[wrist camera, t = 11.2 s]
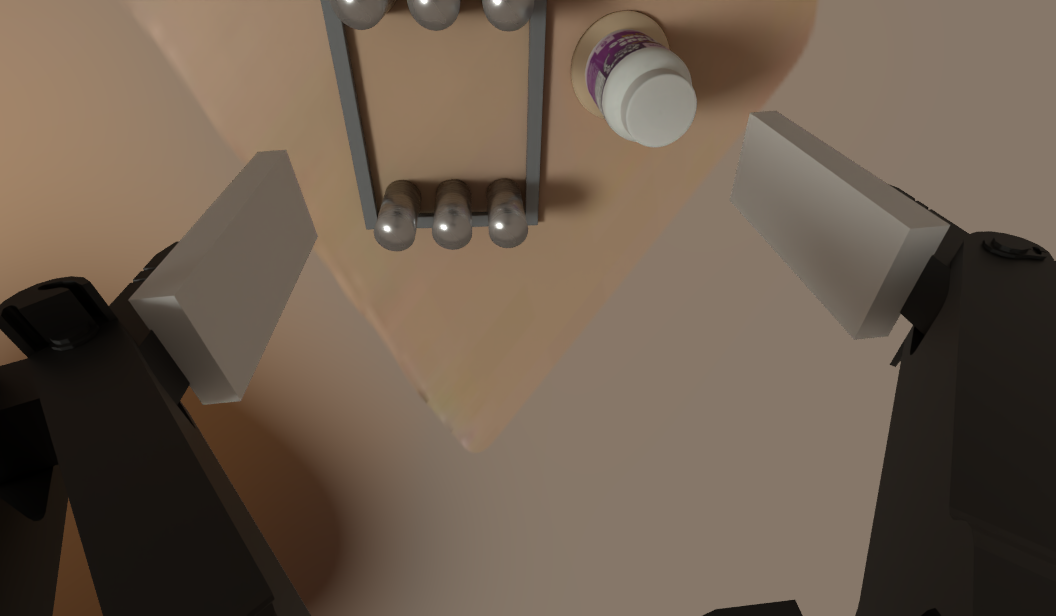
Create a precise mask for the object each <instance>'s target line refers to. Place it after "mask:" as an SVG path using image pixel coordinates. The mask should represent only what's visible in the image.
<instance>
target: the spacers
mask: <svg viewBox="0 0 1056 616" xmlns="http://www.w3.org/2000/svg"><path fill="white" fill-rule="evenodd" d="M394 3H395V0H330V4H331V6H332V9H333V11H334V12H335V14H336V15H337V17H338V18H339V19H340V20H341V21H342V22H343V23H344V24H346V25H347V26H349V27H351V28H354V29H358V30H365V29H369V28H372V27H373V26H375V25H376V24H377V23H378V22H379V21H380V20H381V19H382V18H383V16H384V15H385V14H386V13H387V12H388V11H389V10H390V9H391V8H392V6H393V5H394ZM407 4H408V7H409V10H410V13H411V14H412V16H413V18H414V19H415V20H416V21H417V22H418V23H419V24H420V25H421V26H423V27H425V28H427V29H429V30H435V31H437V30H443V29H446V28H447V27H449V26H450V25H452V23H453V22H454V21H455V20H456V18H457V16H458V13H459V9H460V0H407ZM482 4H483V9H484V12H485V15H486V17H487V19H488V20H489V21H490V23H491V24H492V25H493V26H495V27H496V28H498V29H500V30H503V31H515V30H517V29H519V28H521V27H523V26H524V25H525V24H526V23H527V22H528V20H529V19H530V17H531V15H532V12H533V8H534V0H482ZM486 198H487V212H488V226H489V235H490V238H491V240H492V241H493V242H494V243H495V244H496V245H498V246H500V247H503V248H512V247H516V246H518V245H520V244H521V243H522V242H523V241H524V240H525V239H526V237H527V234H528V226H527V221H526V216H525V211H524V207H523V202H522V197H521V192H520V188H519V186H518V185H517V184H516V183H515V182H514V181H512V180H510V179H504V178H503V179H498V180H495V181H494V182H492V183H491V184H490V185H489V187H488V189H487V193H486ZM420 204H421V194H420V191H419V190H418V188H417V187H416V186H415V185H414V184H412V183H411V182H408V181H404V180H398V181H394V182H392V183H391V184H390V185H389V186H388V187H387V189H386V191H385V195H384V198H383V201H382V205H381V208H380V211H379V214H378V218H377V221H376V224H375V227H374V236H375V239H376V241H377V242H378V243H379V244H380V245H381V246H382V247H384V248H385V249H388V250H391V251H402V250H405V249H407V248H409V247H410V246H411V245H412V244H413V242H414V239H415V234H416V228H417V222H418V216H419V210H420ZM432 235H433V238H434V240H435V241H436V243H437V244H439V245H440V246H441V247H443V248H446V249H451V250H454V249H460V248H462V247H464V246H465V245H467V244H468V243H469V241H470V239H471V237H472V201H471V191H470V189H469V187H468V186H467V185H466V184H465V183H464V182H462V181H460V180H455V179H451V180H447V181H444V182H443V183H441V184H440V186H439V187H438V189H437V192H436V201H435V209H434V218H433V227H432Z"/></svg>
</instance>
